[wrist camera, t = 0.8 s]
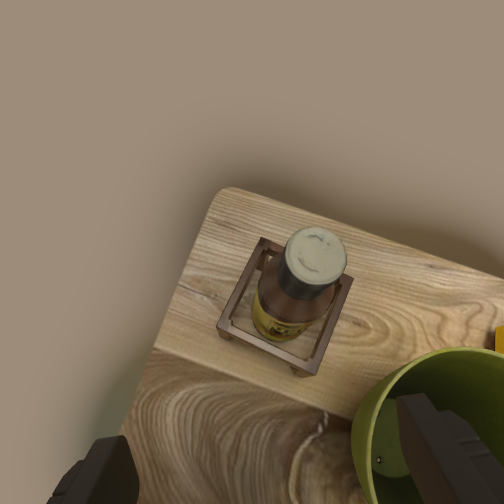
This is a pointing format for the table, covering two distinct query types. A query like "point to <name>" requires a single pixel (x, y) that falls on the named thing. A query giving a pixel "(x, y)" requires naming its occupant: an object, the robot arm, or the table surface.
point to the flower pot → (443, 398)
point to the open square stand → (228, 330)
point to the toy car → (499, 340)
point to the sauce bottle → (298, 284)
